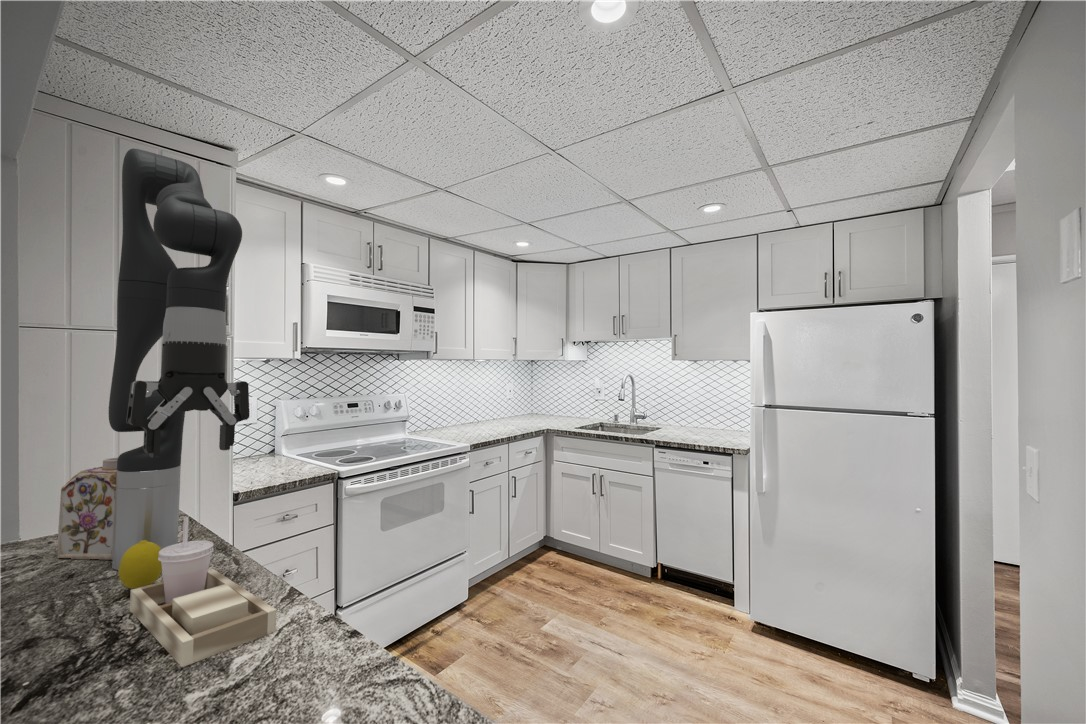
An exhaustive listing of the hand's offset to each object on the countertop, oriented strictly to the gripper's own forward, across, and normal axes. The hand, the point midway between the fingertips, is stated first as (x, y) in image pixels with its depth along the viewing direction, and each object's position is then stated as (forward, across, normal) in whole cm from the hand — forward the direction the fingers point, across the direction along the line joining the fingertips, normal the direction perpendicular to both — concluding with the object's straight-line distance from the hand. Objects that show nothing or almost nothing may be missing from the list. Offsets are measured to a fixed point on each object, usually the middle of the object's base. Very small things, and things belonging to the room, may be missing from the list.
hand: (190, 453), depth 69 cm
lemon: (+23, +2, -15) cm, 28 cm away
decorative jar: (+23, 0, -43) cm, 49 cm away
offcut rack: (+23, 0, +6) cm, 24 cm away
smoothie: (+23, 0, 0) cm, 23 cm away
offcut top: (+20, 0, +10) cm, 22 cm away
